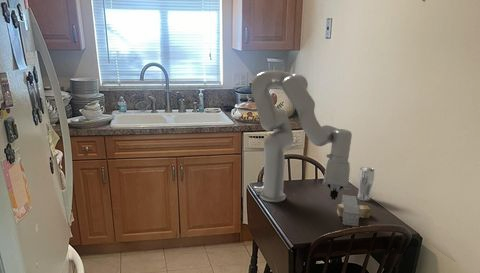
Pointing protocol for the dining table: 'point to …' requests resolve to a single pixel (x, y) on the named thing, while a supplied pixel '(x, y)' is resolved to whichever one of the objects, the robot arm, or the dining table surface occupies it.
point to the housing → (350, 210)
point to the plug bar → (363, 210)
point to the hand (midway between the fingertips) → (333, 198)
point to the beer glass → (365, 183)
